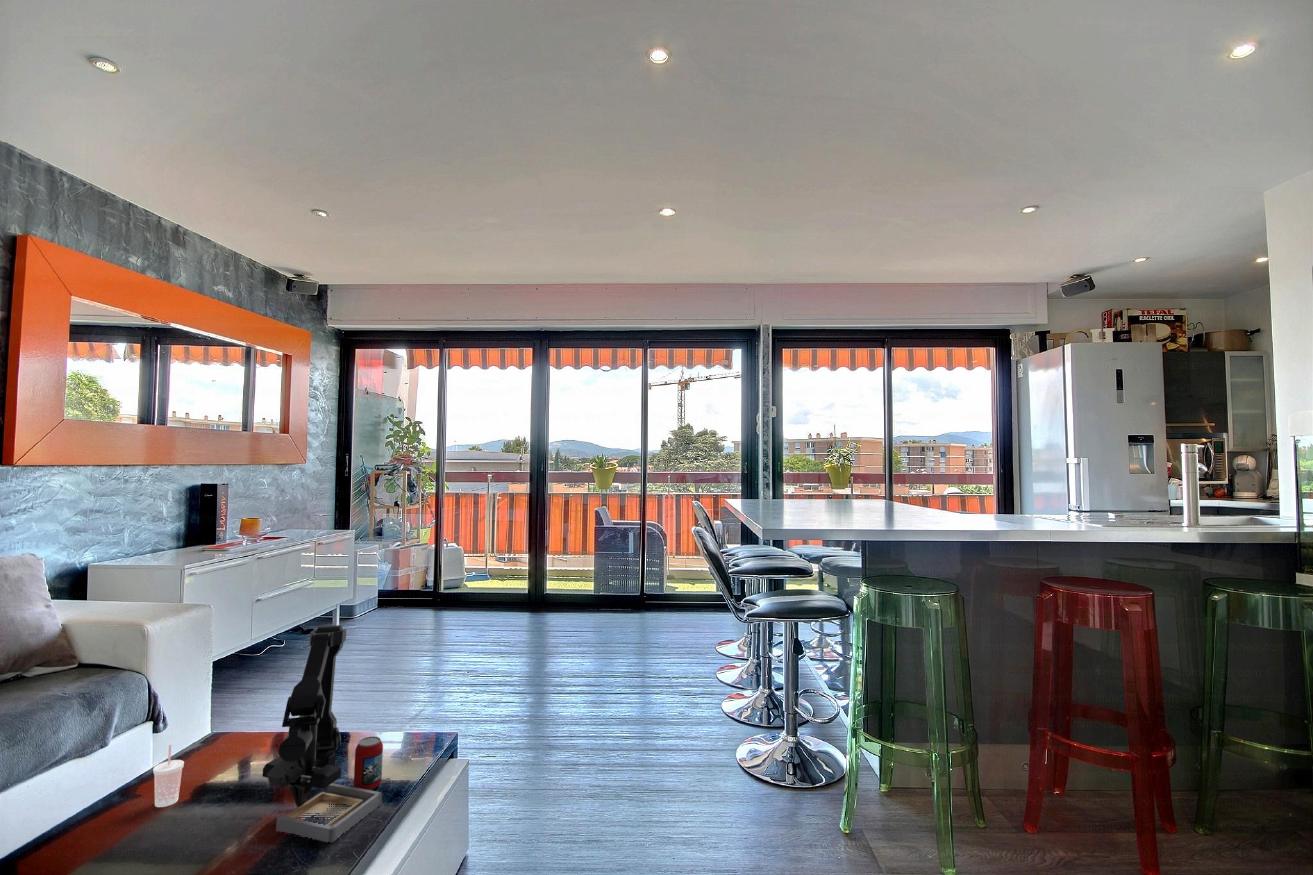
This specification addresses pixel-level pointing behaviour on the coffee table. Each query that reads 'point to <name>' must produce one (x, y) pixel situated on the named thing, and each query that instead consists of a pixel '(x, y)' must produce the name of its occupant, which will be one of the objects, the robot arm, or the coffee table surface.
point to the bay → (333, 832)
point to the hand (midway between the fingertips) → (299, 806)
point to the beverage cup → (167, 781)
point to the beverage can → (368, 763)
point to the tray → (327, 806)
